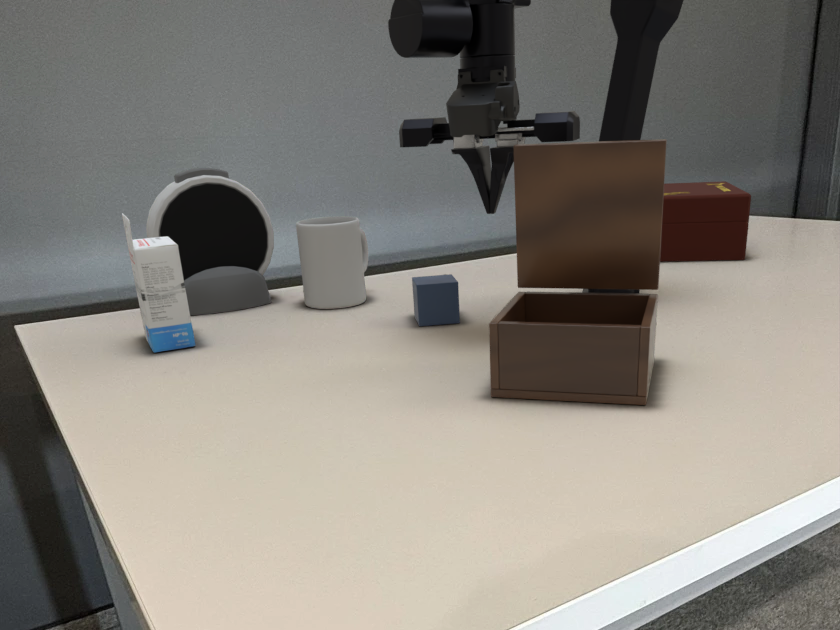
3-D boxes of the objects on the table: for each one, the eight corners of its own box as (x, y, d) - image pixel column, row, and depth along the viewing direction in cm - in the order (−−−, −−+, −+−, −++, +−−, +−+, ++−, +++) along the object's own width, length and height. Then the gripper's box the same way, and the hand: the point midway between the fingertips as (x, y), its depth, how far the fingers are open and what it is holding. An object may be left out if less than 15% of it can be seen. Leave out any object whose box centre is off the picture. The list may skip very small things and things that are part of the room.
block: (453, 313, 101) (451, 274, 99) (459, 323, 96) (458, 281, 94) (414, 316, 100) (411, 277, 98) (419, 326, 96) (416, 285, 94)
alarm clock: (169, 320, 105) (141, 174, 97) (157, 306, 113) (130, 170, 106) (288, 302, 111) (270, 164, 104) (268, 290, 120) (250, 161, 112)
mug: (341, 311, 105) (332, 225, 100) (292, 306, 109) (281, 223, 104) (392, 292, 114) (387, 213, 110) (345, 288, 118) (338, 212, 114)
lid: (666, 140, 69) (666, 138, 70) (513, 145, 73) (514, 144, 74) (658, 290, 75) (658, 287, 76) (517, 288, 79) (519, 285, 80)
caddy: (646, 405, 68) (650, 327, 65) (490, 397, 71) (488, 323, 69) (654, 361, 79) (658, 293, 76) (519, 356, 82) (518, 291, 80)
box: (629, 241, 146) (631, 184, 142) (722, 238, 143) (727, 180, 139) (638, 262, 127) (640, 196, 123) (745, 259, 124) (752, 193, 120)
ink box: (198, 346, 92) (174, 215, 86) (153, 354, 90) (126, 219, 84) (186, 331, 99) (164, 208, 93) (144, 337, 97) (118, 212, 91)
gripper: (375, 60, 78) (387, 224, 84) (565, 47, 73) (563, 223, 79) (411, 64, 87) (420, 211, 94) (581, 52, 82) (579, 209, 88)
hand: (491, 213), depth 88 cm, fingers closed
